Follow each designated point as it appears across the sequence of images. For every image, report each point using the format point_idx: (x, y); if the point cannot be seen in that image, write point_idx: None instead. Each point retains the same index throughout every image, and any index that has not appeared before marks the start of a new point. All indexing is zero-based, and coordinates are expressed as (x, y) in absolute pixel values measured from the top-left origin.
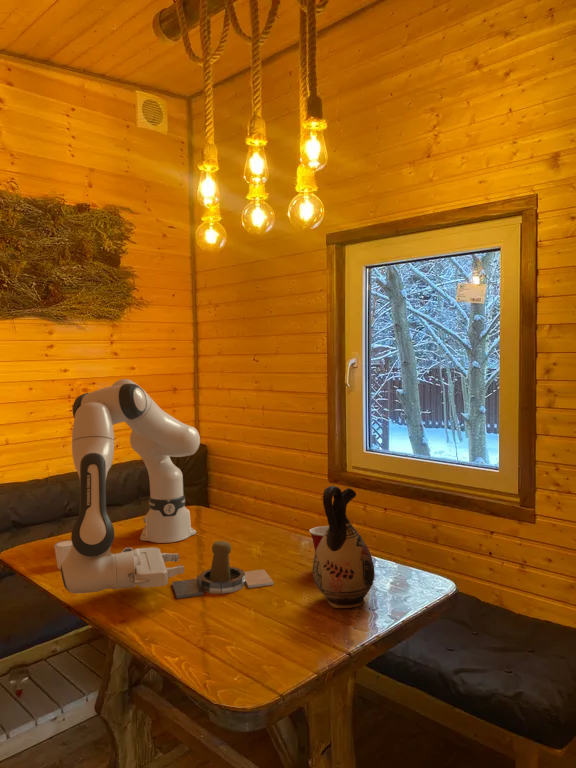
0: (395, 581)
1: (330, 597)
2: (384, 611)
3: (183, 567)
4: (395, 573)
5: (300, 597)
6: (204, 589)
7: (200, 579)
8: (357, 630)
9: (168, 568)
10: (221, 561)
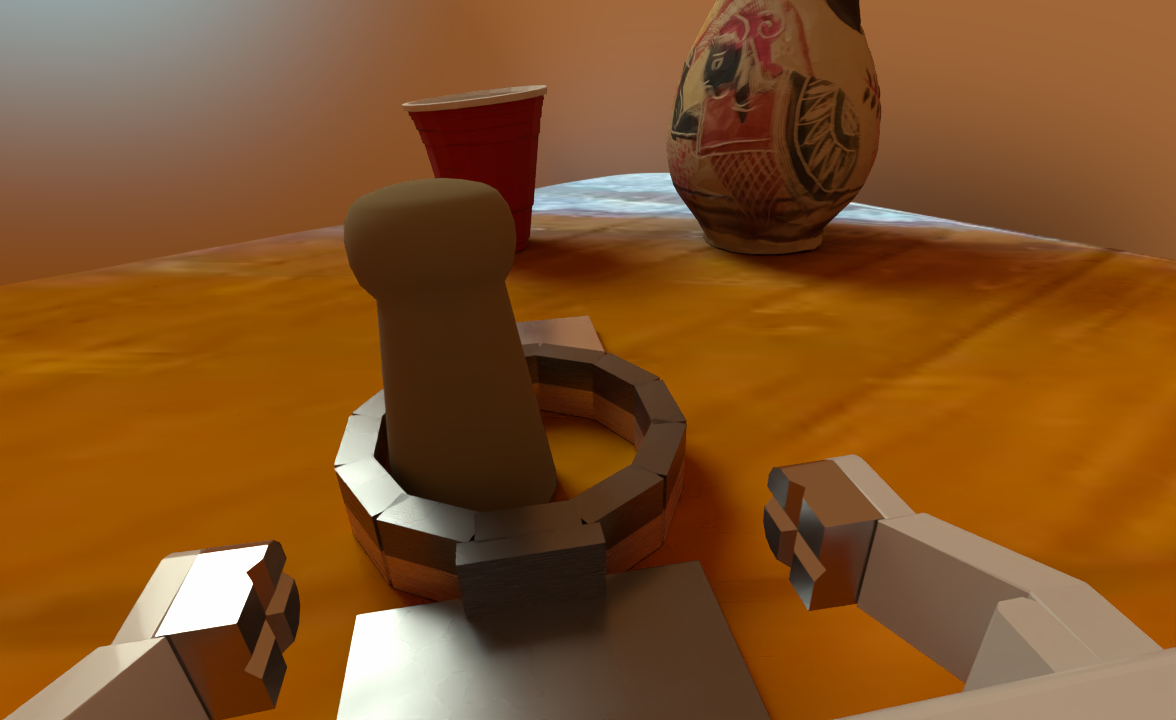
0: (624, 198)
1: (835, 213)
2: None
3: (852, 460)
4: (572, 195)
5: (729, 287)
6: (616, 566)
7: (573, 533)
8: (953, 236)
9: (1072, 630)
10: (513, 323)
